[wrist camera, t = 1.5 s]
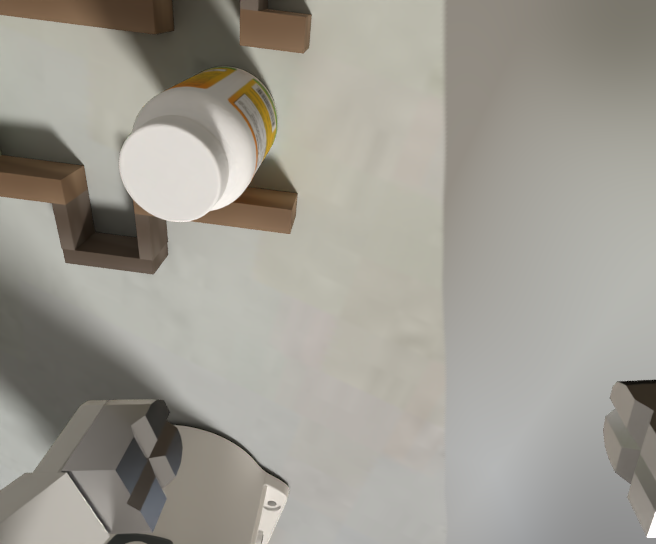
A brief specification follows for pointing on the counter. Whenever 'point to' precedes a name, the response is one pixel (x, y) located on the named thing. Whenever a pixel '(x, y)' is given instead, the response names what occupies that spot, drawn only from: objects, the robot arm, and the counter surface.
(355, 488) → the counter surface
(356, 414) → the counter surface
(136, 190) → the supplement bottle
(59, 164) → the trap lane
